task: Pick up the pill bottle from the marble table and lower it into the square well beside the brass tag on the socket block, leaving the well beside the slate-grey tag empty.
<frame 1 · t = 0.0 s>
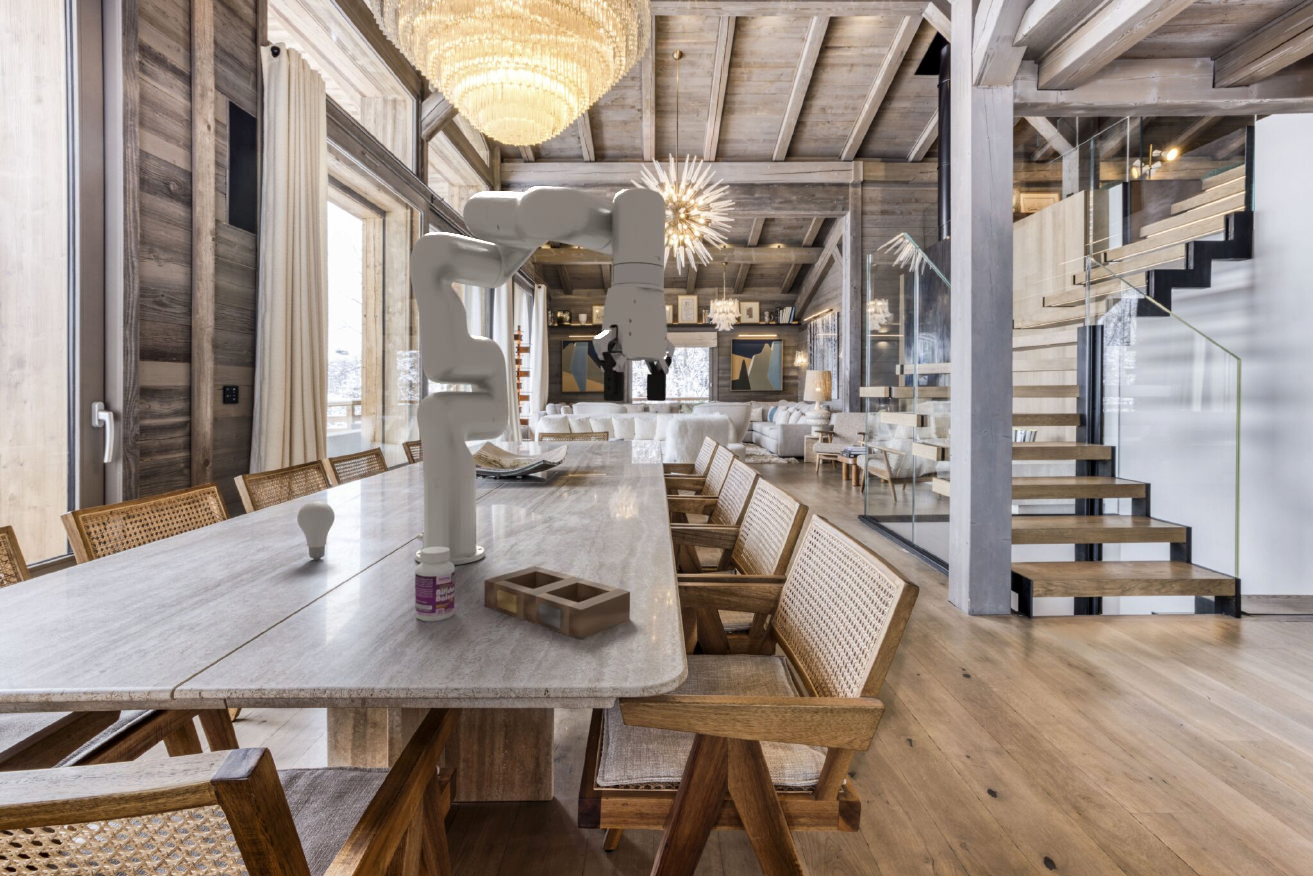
hand: (635, 400, 94), 31 cm above the table, fingers open, 9 cm apart
lightbulb: (317, 560, 120), on the table
pill bottle: (435, 617, 93), on the table
socket block: (555, 612, 95), on the table
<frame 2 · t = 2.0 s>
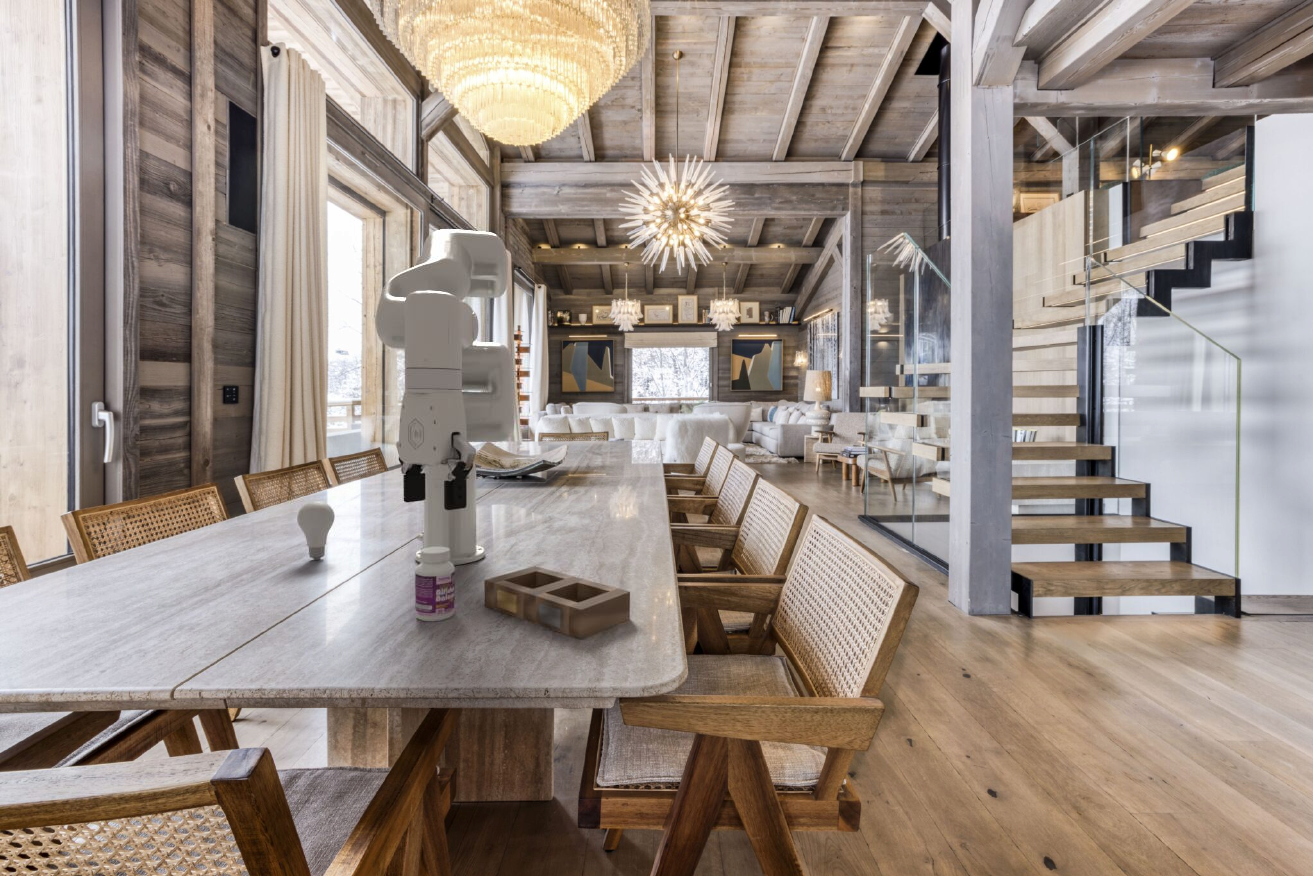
hand: (434, 504, 91), 16 cm above the table, fingers open, 9 cm apart
nothing on the table moved.
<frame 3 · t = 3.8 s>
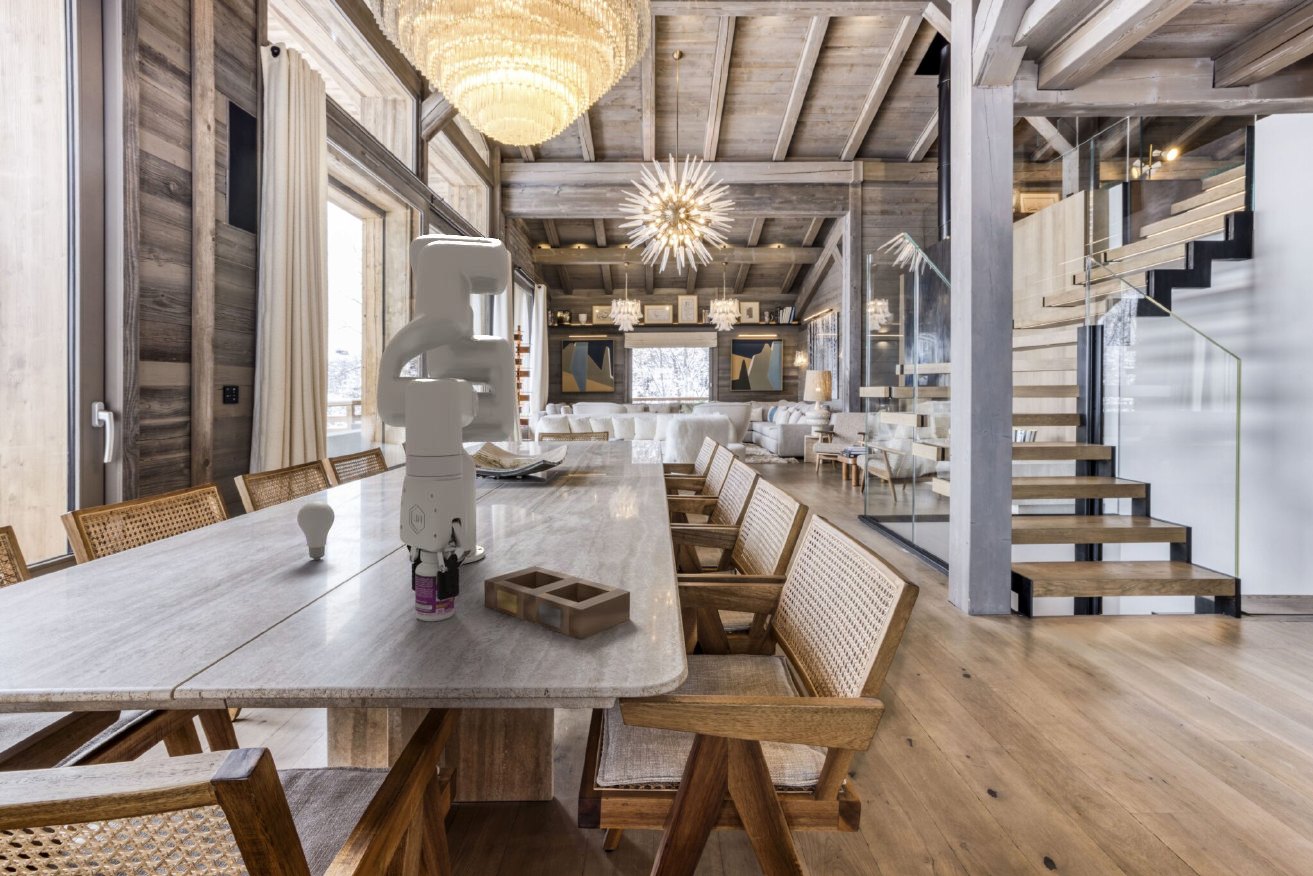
hand: (435, 591, 92), 4 cm above the table, fingers closed on pill bottle, 5 cm apart
pill bottle: (435, 617, 93), on the table, touching gripper
everything else where it was.
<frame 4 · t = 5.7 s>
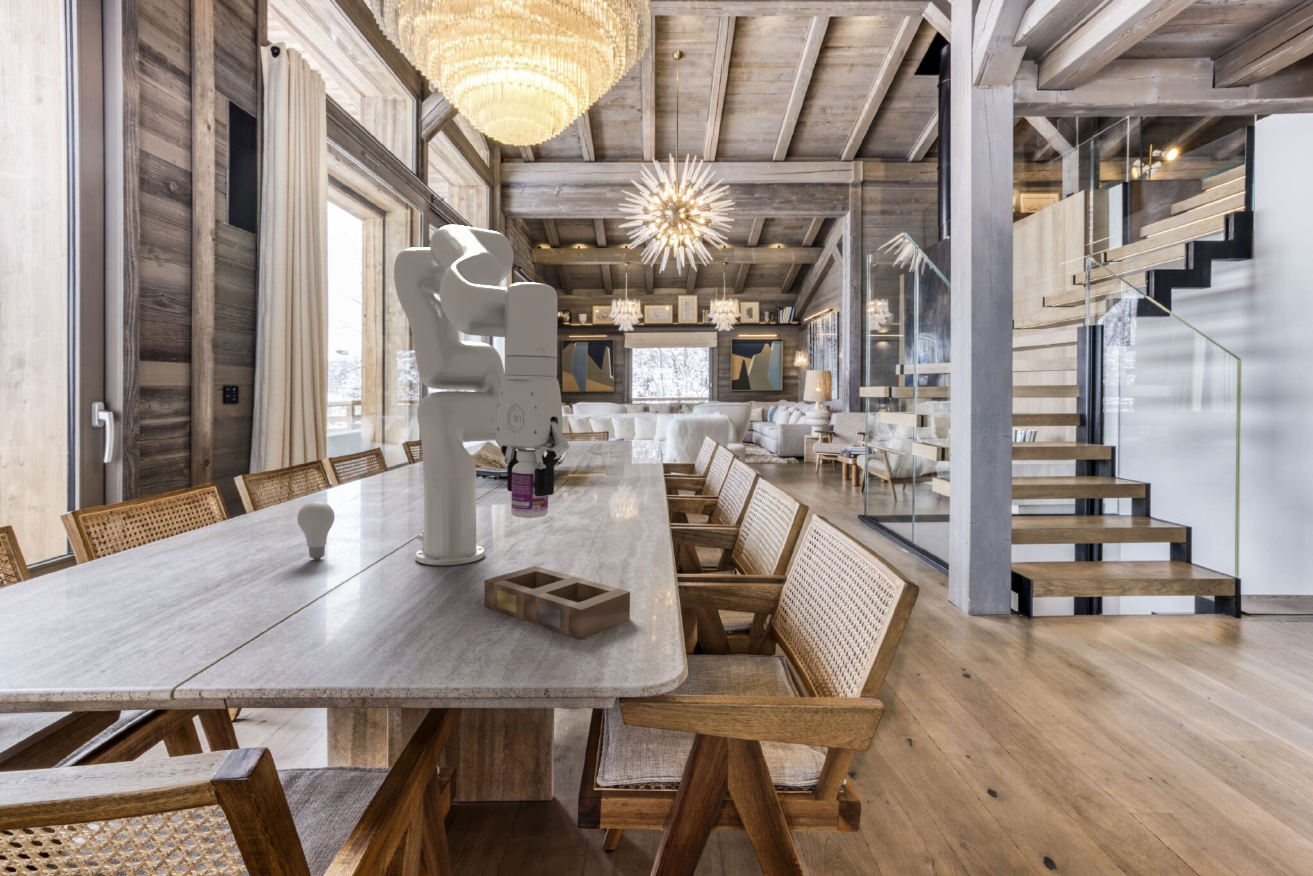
hand: (530, 491, 96), 17 cm above the table, fingers closed on pill bottle, 5 cm apart
pill bottle: (529, 516, 96), point 14 cm above the table, touching gripper
everything else where it was.
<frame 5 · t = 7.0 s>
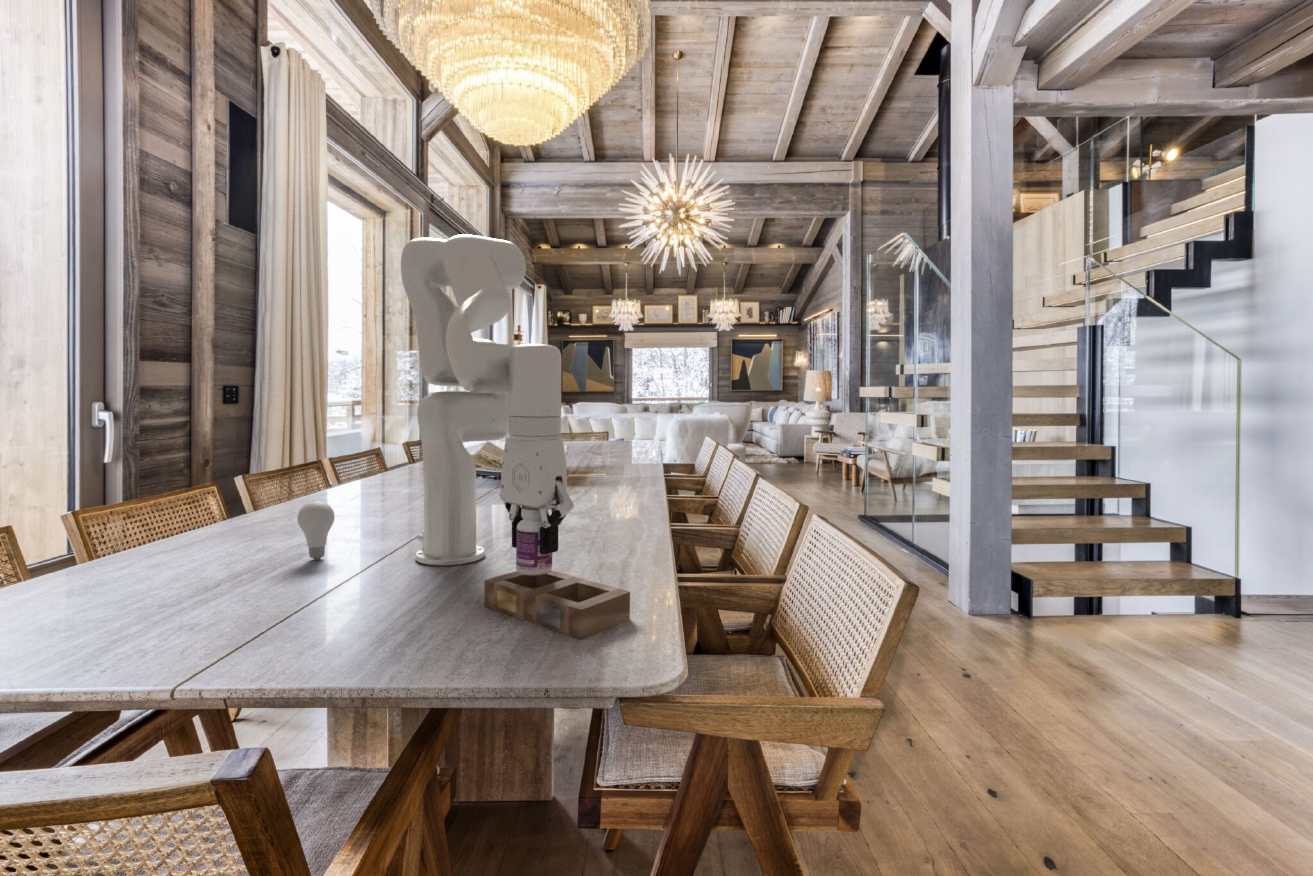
hand: (534, 548, 97), 9 cm above the table, fingers closed on pill bottle, 5 cm apart
pill bottle: (534, 572, 97), point 5 cm above the table, touching gripper
everything else where it was.
when the fingers open (5 cm above the table, at t = 8.2 s): pill bottle drops 1 cm, resting in socket block.
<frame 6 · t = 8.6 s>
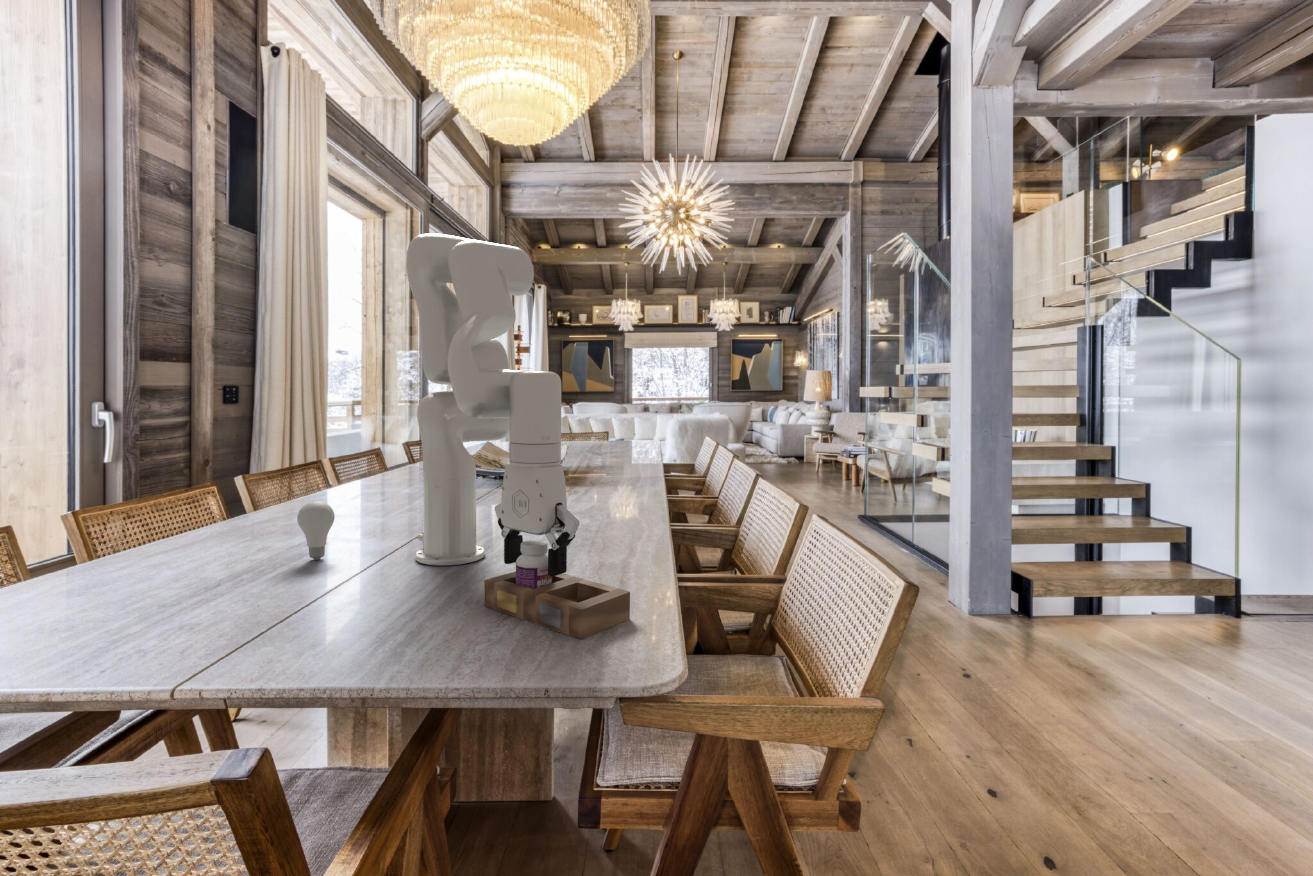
hand: (534, 568, 97), 6 cm above the table, fingers open, 9 cm apart
pill bottle: (533, 606, 98), resting in socket block
everything else where it was.
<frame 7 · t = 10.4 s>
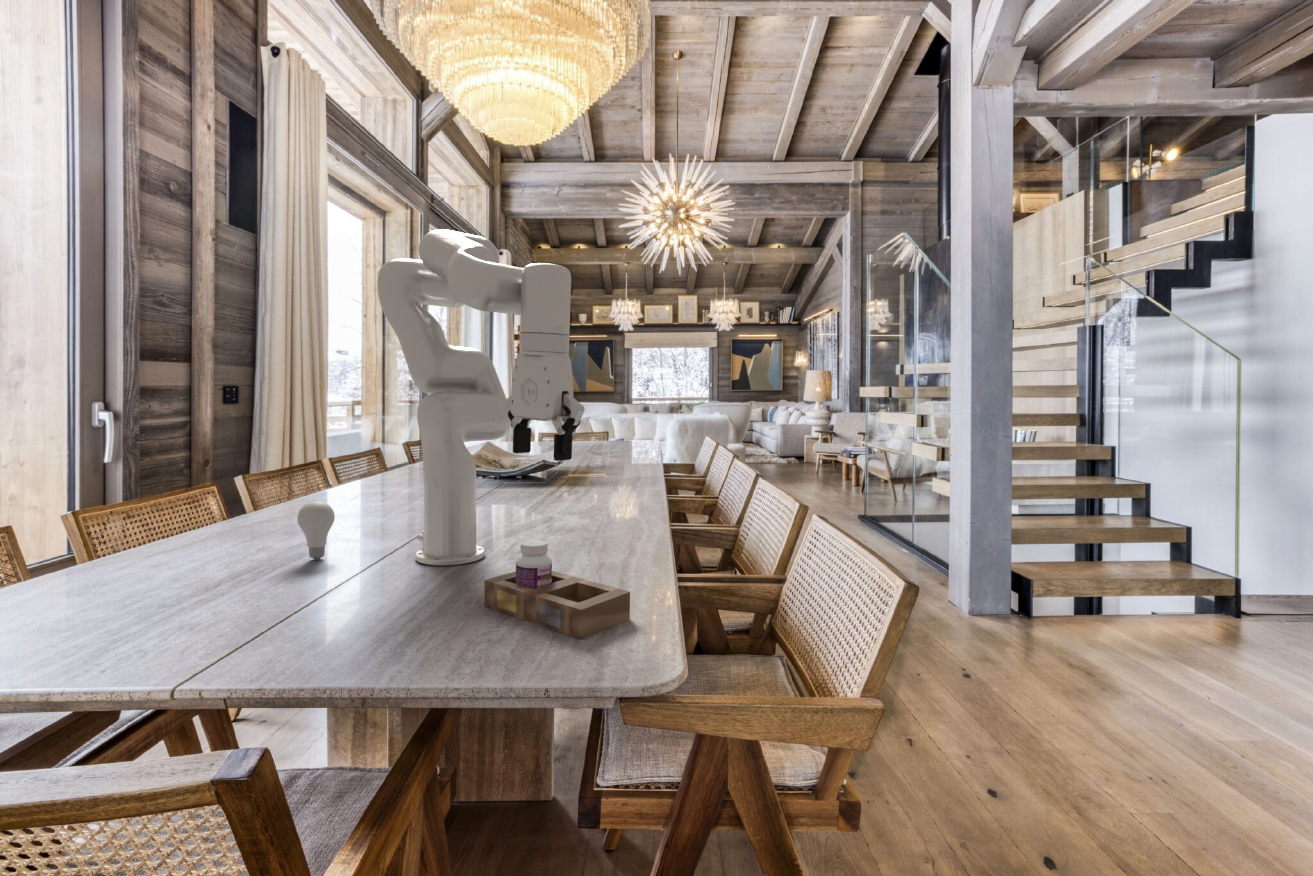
hand: (541, 456, 102), 22 cm above the table, fingers open, 9 cm apart
nothing on the table moved.
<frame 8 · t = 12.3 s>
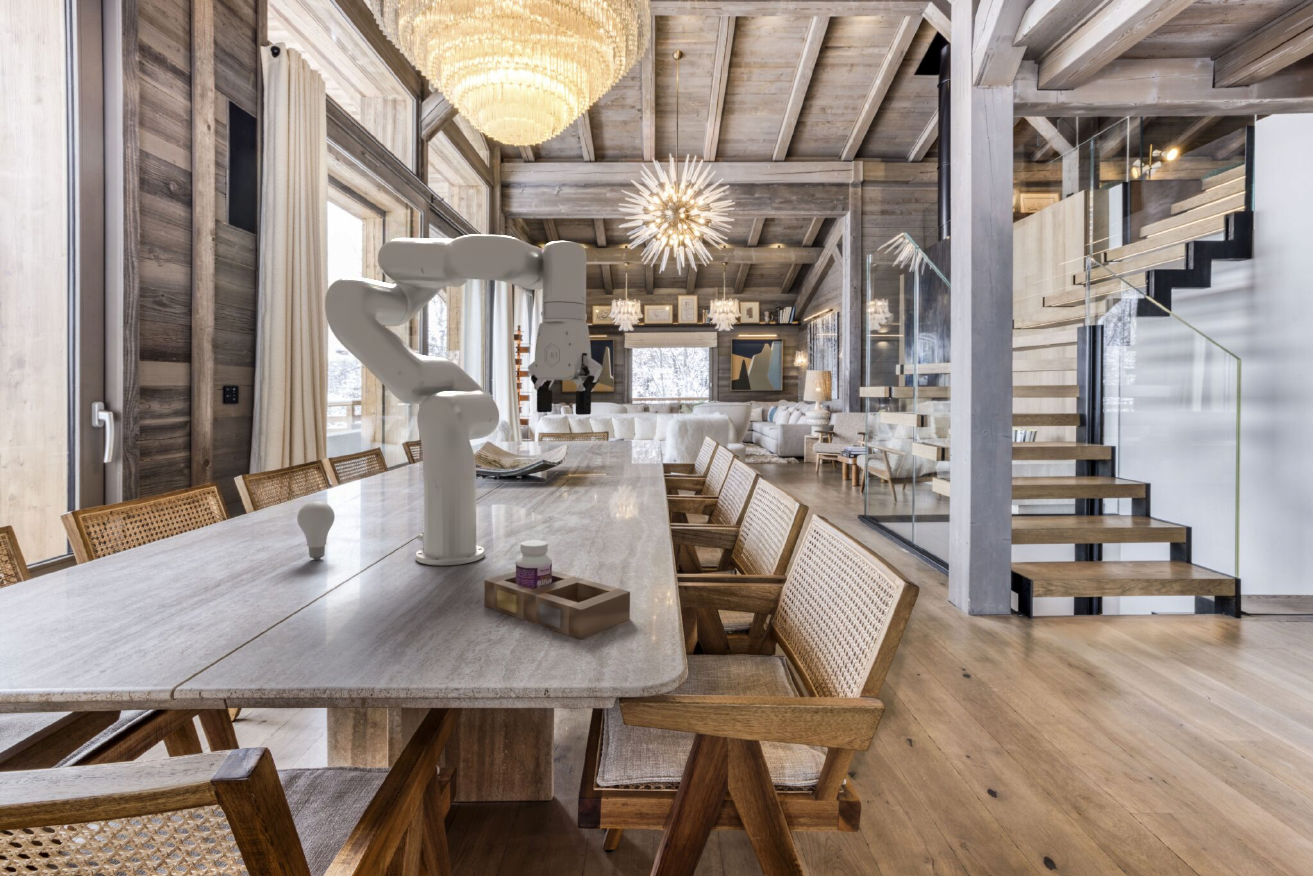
hand: (563, 413, 114), 28 cm above the table, fingers open, 9 cm apart
nothing on the table moved.
at the end: pill bottle 0.1 cm from the target spot on the socket block, point 0.0 cm above the socket block's base; pill bottle tilted 0°; the gripper is holding nothing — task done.
